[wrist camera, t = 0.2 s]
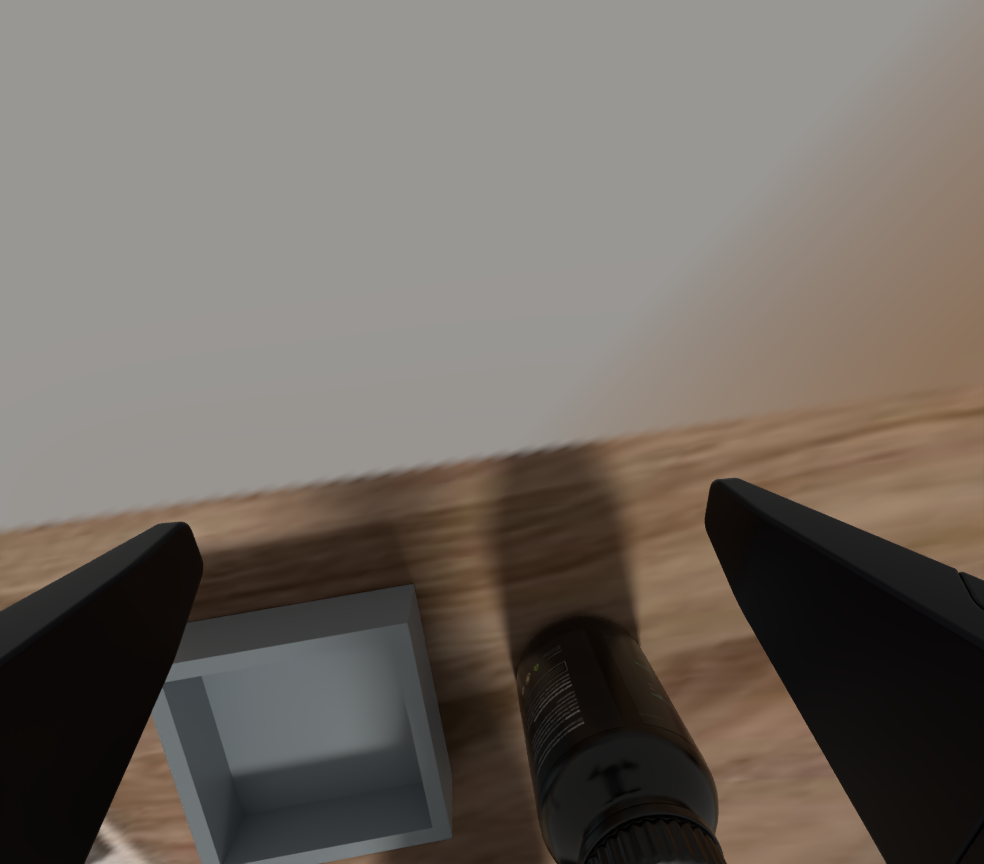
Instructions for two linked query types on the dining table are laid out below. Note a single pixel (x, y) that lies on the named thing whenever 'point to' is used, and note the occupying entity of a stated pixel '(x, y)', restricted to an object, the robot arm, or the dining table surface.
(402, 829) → the tray
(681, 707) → the dining table surface
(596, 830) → the supplement bottle
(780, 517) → the robot arm
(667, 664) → the dining table surface
